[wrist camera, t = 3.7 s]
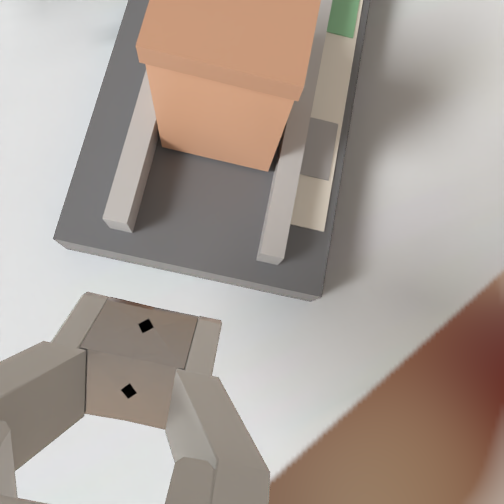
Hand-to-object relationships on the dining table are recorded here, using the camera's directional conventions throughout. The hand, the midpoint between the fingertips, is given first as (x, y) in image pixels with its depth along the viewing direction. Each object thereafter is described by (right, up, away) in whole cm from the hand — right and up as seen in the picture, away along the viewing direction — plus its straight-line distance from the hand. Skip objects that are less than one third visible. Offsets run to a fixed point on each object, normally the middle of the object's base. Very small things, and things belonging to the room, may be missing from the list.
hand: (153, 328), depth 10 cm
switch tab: (+1, +8, +11) cm, 13 cm away
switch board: (+1, +11, +14) cm, 18 cm away
